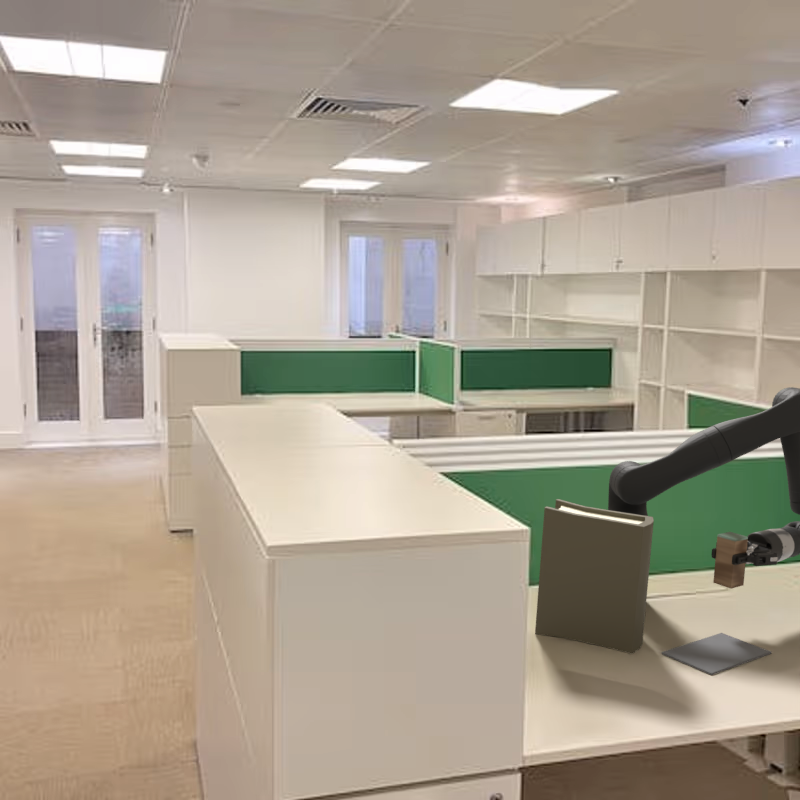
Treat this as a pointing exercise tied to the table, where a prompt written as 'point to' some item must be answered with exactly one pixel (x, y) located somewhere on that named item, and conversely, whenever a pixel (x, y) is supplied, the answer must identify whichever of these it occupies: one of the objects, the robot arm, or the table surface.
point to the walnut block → (729, 559)
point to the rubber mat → (716, 653)
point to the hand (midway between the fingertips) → (723, 556)
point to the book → (594, 575)
